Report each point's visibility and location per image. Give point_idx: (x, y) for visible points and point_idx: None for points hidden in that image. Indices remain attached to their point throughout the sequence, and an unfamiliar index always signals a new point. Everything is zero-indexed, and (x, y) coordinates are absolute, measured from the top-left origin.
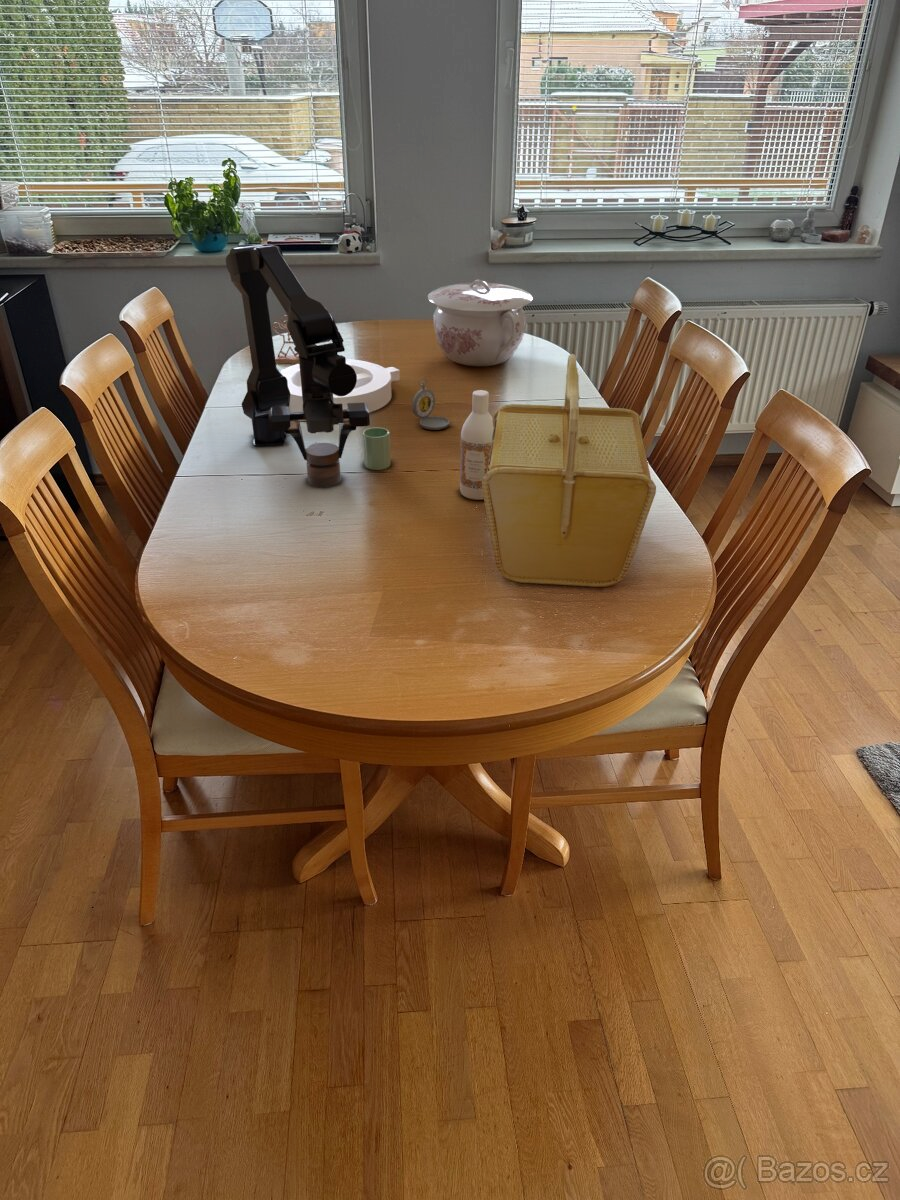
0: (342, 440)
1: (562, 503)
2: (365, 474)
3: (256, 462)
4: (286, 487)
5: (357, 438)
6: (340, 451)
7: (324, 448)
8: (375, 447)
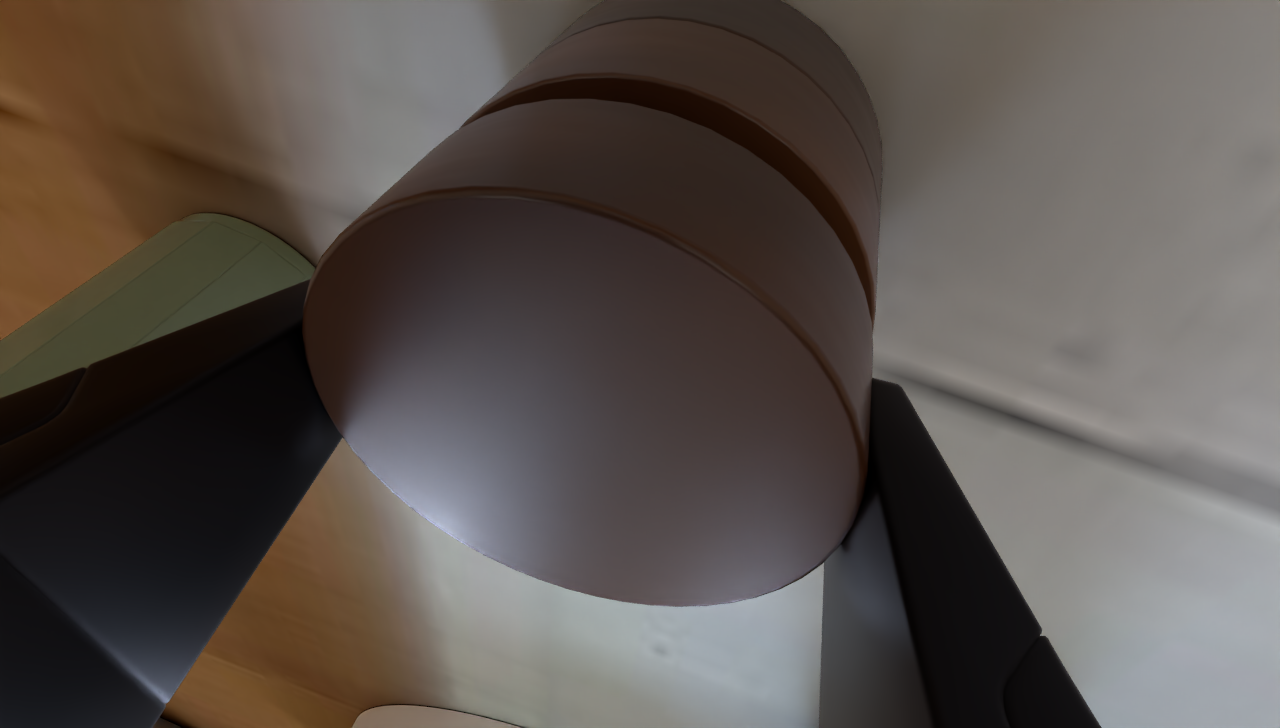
0: (51, 423)
1: None
2: (314, 172)
3: (1151, 651)
4: (1214, 147)
5: (443, 595)
6: (290, 308)
7: (526, 453)
8: (64, 351)
